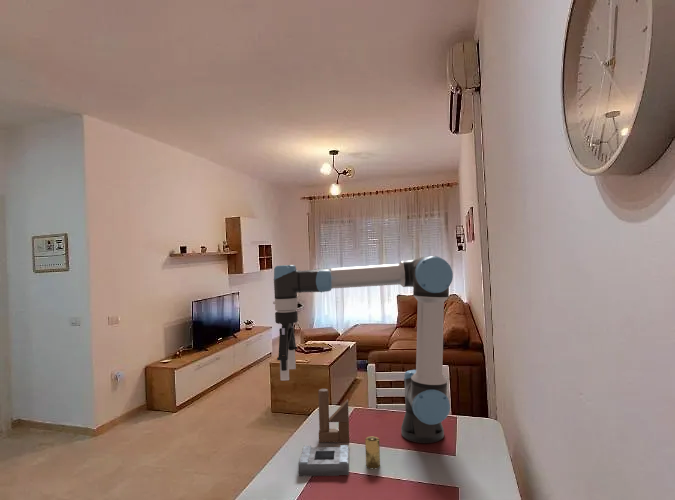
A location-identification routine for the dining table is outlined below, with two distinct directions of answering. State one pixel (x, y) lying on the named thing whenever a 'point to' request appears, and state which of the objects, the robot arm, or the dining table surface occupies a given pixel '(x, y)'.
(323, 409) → the brown wooden stand
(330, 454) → the jig
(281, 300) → the robot arm
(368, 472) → the dining table surface
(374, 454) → the bushing
